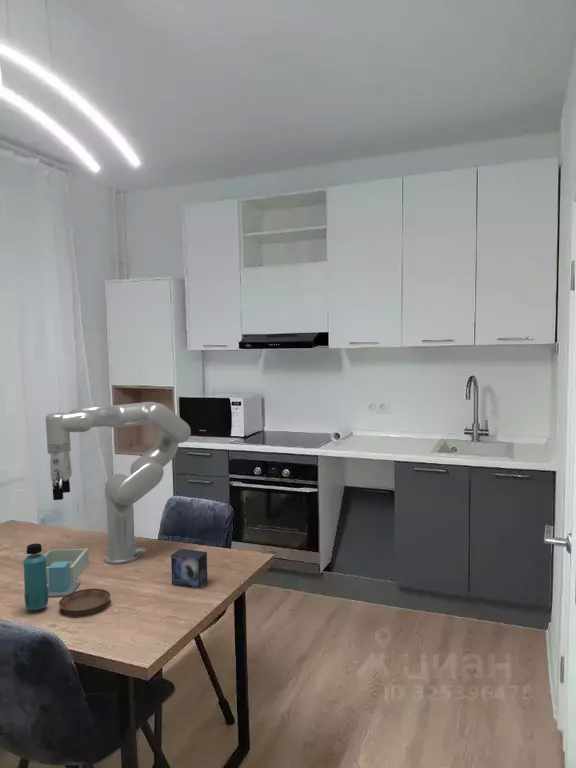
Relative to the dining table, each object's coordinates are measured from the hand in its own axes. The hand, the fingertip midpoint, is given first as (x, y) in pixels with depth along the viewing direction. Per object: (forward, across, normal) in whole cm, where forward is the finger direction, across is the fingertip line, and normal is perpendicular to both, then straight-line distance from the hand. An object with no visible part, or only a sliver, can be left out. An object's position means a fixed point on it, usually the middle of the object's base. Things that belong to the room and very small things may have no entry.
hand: (61, 495), depth 197 cm
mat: (+27, -18, -2) cm, 32 cm away
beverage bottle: (+27, -31, +1) cm, 41 cm away
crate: (+27, -3, +1) cm, 27 cm away
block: (+26, -18, -2) cm, 32 cm away
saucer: (+27, -31, -13) cm, 43 cm away
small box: (+28, -20, -44) cm, 55 cm away
